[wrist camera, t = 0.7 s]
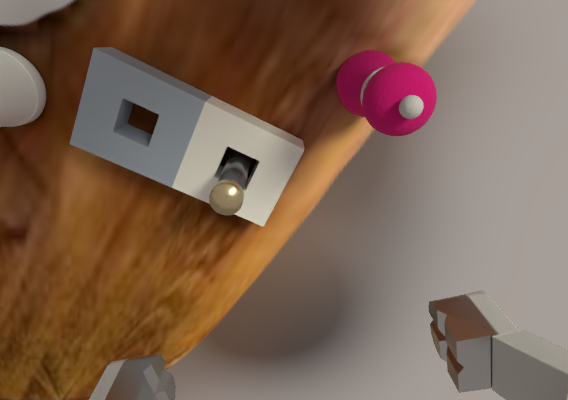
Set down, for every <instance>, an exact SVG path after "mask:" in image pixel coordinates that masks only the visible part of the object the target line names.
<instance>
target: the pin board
mask: <svg viewBox="0 0 568 400" xmlns="http://www.w3.org/2000/svg"><path fill="white" fill-rule="evenodd" d="M134 103H135V104H137V105H139V106H141V107H144V108H146V109H148V110H150V111H152V112H154V113H157V114H159V118H158V121H157V123H156V126H155V129H154V132H153V135H152V134H150V133H147V132H145V131H143V130H141V129H138V128H136V127H134V126H132V125H130V124H128V120H129V117H130V114H131V111H132V108H133V104H134ZM70 144H71V145H73V146H75V147H78V148H80V149H82V150H85V151H87V152H89V153H92V154H94V155H96V156H99V157H101V158H103V159H106V160H108V161H110V162H113V163H115V164H117V165H120V166H122V167H125V168H127V169H129V170H132V171H134V172H136V173H139V174H141V175H143V176H146V177H148V178H150V179H153V180H155V181H157V182H160V183H162V184H164V185H167V186H169V187H171V188H174V189H176V190H178V191H181V192H183V193H185V194H188V195H190V196H193V197H195V198H197V199H200V200H202V201H204V202H207V203H209V196H210V193H211V191H212V189H213V187H214V185H215V184H216V183H217V182H218V180H219V178H220V176H221V173H222V171H223V169H224V167H223V166H221V165H220V163H221V161H222V158H223V156H224V154H225V152H226V149H227V147H230V148H232V149H234V150H236V151H239V152H241V153H243V154H245V155H247V156H249V157H251V158H254V159H256V160H257V162H256V164H255V166H254V168H253V170H252V172H251V174H250V176H249V178H247V179H246V183H245V187H244V199H243V203H242V207H241V208H240V210H239V211H238V212H236V213H235V215H237V216H239V217H242V218H244V219H246V220H249V221H251V222H253V223H256V224H258V225H261V226H263V227H264V225H265V223H266V221H267V219H268V217H269V216H270V214H271V212H272V210H273V208H274V206H275V204H276V202H277V201H278V199H279V197H280V195H281V193H282V191H283V189H284V188H285V186H286V184H287V182H288V180H289V178H290V176H291V174H292V173H293V171H294V169H295V167H296V165H297V163H298V161H299V159H300V158H301V156H302V154H303V152H304V150H305V149H304V144H303V140H301V139H299V138H297V137H295V136H293V135H291V134H289V133H287V132H285V131H283V130H281V129H279V128H277V127H275V126H273V125H271V124H269V123H267V122H265V121H263V120H260V119H258V118H256V117H254V116H252V115H250V114H248V113H246V112H244V111H242V110H240V109H238V108H236V107H234V106H232V105H230V104H228V103H226V102H224V101H222V100H219V99H217V98H215V97H213V96H211V95H209V94H207V93H205V92H203V91H201V90H199V89H197V88H195V87H193V86H191V85H189V84H187V83H185V82H183V81H181V80H179V79H176V78H174V77H172V76H170V75H168V74H166V73H164V72H162V71H160V70H158V69H156V68H154V67H152V66H150V65H148V64H146V63H144V62H142V61H140V60H138V59H135V58H133V57H131V56H129V55H127V54H125V53H123V52H121V51H119V50H117V49H115V48H113V47H99V48H93V52H92V56H91V60H90V64H89V68H88V72H87V76H86V80H85V84H84V88H83V92H82V96H81V100H80V104H79V108H78V112H77V116H76V120H75V124H74V128H73V132H72V136H71V140H70ZM209 204H210V203H209Z"/></svg>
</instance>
